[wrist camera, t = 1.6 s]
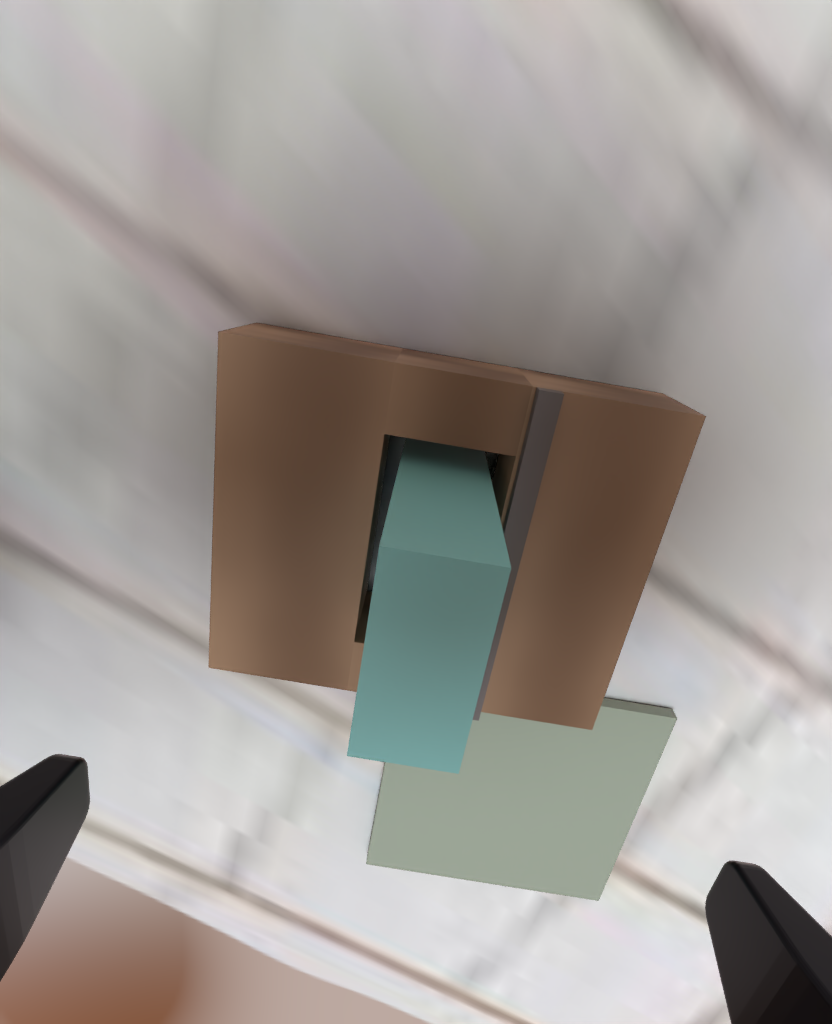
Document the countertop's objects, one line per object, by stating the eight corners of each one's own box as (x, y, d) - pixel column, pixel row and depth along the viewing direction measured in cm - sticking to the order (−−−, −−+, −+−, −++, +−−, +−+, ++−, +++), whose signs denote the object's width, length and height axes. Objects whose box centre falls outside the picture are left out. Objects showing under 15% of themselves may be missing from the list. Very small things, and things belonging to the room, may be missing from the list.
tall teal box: (384, 575, 20) (346, 756, 12) (406, 433, 18) (379, 546, 10) (453, 586, 20) (458, 773, 12) (483, 446, 18) (511, 568, 10)
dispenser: (240, 614, 20) (203, 676, 17) (256, 322, 17) (211, 333, 13) (572, 669, 21) (595, 739, 17) (662, 393, 17) (712, 419, 14)
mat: (367, 852, 25) (366, 864, 24) (403, 664, 21) (402, 673, 20) (595, 889, 25) (598, 900, 24) (672, 708, 21) (677, 718, 21)
